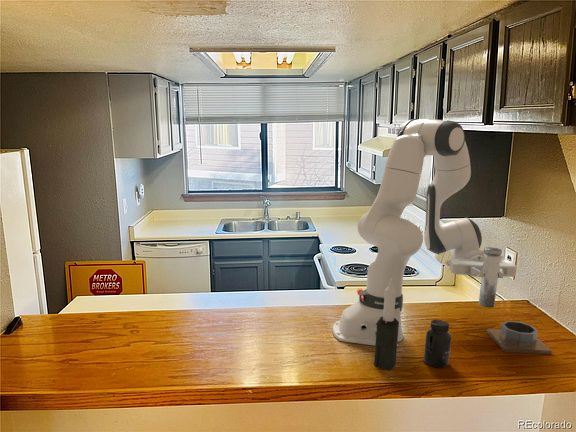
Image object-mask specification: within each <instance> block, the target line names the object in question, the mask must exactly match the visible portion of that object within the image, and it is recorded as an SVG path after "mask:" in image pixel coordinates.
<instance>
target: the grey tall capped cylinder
mask: <svg viewBox="0 0 576 432" xmlns="http://www.w3.org/2000/svg"><path fill="white" fill-rule="evenodd" d="M483 251H484V260H483V269H482V271H483V272H484V274H483V275H484V277H480V278H481V279H480V285H479V286H480V288H479V297H478V305H479V306H481V307H484V308H488V309H489V308H490V309H491V308H492V309H493V308H495V306H496V298H497V297H496V296H497V288H498V280H499V278H498V273H499V264H500V256H501V255H502V253H503V250H502V249H501V248H498V247H494V246H493V247H492V246H491V247H489V246H486V247H483Z"/></svg>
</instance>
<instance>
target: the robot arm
mask: <svg viewBox="0 0 576 432" xmlns="http://www.w3.org/2000/svg"><path fill="white" fill-rule="evenodd" d="M466 142H467V141H466V133H465V129H464V127H462V125H461V124H460V123H459V122H456V121H453V120H449V119H448V120H443V119H435V118H421V119H418V118H412V119H408V120H406V121H404V122H403V123H402V124H401V125H400V127H399V129H398V132H397V137H396V138H395V139H394V140H393V143H392V144H391V147H390V150H389V153H388V155H387V158H386V161H385V165H384V170H383V174H382V176H381V177H382V178H381V181H380V186H379V190H378V192H377V195H376V197H375V199H374V201H373V203H372V205H371V206H370V207H369V210H368V211H366V212H365V213H364V214H363V215H362V216H361V217H360V218H359V220H358V223H357V232H358V234H359V236H360V237H361V238H362V240H364V241H365V242H366V243H368V244H369V245H372V246H374V247H376V248H378V249H377V254H376V258H375V260H374V261H373V262H371V263H370V264H369V266H368V267H367V275H366V287H365V289H364V290H363V288H361V287H358V288H357V289H356V293H357V295H358V301H356V302H355V303H353V304H352V305H350V306H348V307H346V308H344V309H343V311H342V314H341V316H340V319H339V320H337V321H335V322H334V324H333V325H332V333H333V335H334V337H335V339H337V340H338V341H339V342H345V343H354V344H360V345H369V346H373V347H374V346H375V344H376V331H377V321H378V320H380V317H382V316H383V311H384V298H385V290H386V288H387V287H388V285H389V283H390V279H393V281H392V282H393V286H394V289H395V290H396V299H395V311H394V318H395V319H396V320H397V321H399V328H398V340H397V343H398V342H401V341H402V340H403V339H404V332H403V327H402V310H403V303H404V295H403V294H402V293H403V284H404V283H403V282H404V275H405V271H406V267H407V264H408V262H409V260H410V259H411V257H413V256H414V255H416V254H417V253H418V252H419V251H420V249H421V247H422V246H423V242H424V245H425V247H426V249H427V250H428V251H430V253H433V254H435V255H440V254H443V253H446V252H447V251H448V252H449V254H450V256H451V258H450V259H449V260H447V261H445V265H446V266H448V267H449V271H450V273H452V274H453V275H464V276H471V277H479V278H481V277H484V275H483V274H484V272H483V271H482V269H483V260H484V250H482V249H481V247H482V241H483V236H482V232H481V229H480V227H479V225H478V224H477V222H475V221H474V220H473V219H471V218H469V217H464V218H459V219H456V220H452V221H450V222H449V221H448V222H445V223H441V221H440V220H441V219H440V218H441V207H442V205H443V203H444V202H445V201H446V200H447V199H448V198H450V197H451V196H453V195H455V194H456V193H457V192H459V191H461V190H463V188H464V187H465V186H466V185H467V184H468V182H469V181H470V180H471V176H472V169H471V167H472V166H471V159H470V154H469V148H468V146H467V143H466ZM426 156H433V162H434V168H435V169H434V177H433V179H432V180H431V183H429V184H428V185H427V190H426V202H425V203H426V205H425V226H424V231H423V232H424V235H423V232H422V230H421V228H420V227H419V226H417V225H416V224H415V223H413V222H411V220H409V219H406V218H403V217H401V216H402V214H403V212H404V210H405V209H406V207H407V206H409V205H410V204H412V203H413V202H414V201H415V199H416V197H417V194H418V190H419V185H420V180H421V177H422V172H423V166H424V159H425V157H426ZM440 223H441V224H440ZM480 249H481V250H480ZM517 269H518V267H517V265H516V264H515V263H513V262H512V261H510V259H506V258H504V256H503V255H502V254H501V256H500V264H499V273H498V279H503V278H504V277H509V278H510V277H511V278H512V277H513V278H514V277H516V275H517Z"/></svg>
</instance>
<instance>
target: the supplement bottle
mask: <svg viewBox="0 0 576 432" xmlns="http://www.w3.org/2000/svg"><path fill="white" fill-rule="evenodd" d="M429 328H430V329H428V330H427V331H426V333H425V340H424V341H425V342H424V352H423V361H424V363H425V364H427V365H428V366H430V367H432V368H433V367H434V368H439V369H443V368H445V367H448V365H449V362H450V353H451V346H452V345H451V344H452V334H451V333H450V332H449V331H450V330H449V329H450V323H449V322H447V321H446V320H442V319H433V320H431V322H430V327H429Z"/></svg>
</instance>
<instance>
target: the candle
mask: <svg viewBox="0 0 576 432" xmlns="http://www.w3.org/2000/svg"><path fill="white" fill-rule="evenodd" d="M392 281H393V279H390V283H389V285H388V287H387V288H386V290H385V298H384V311H383V316H382V317H380V320H378V321H377V331H376V344H375V347H374V360H373V365H374V366H375V367H376V368H380V369H384V370H386V371H391V370H393V369H394V367H395V366H396V363H397V349H398V342H397V340H398V328H399V321H397V320H396V319H395V318H394V311H395V299H396V290H395V289H394V286H393V282H392Z"/></svg>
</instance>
